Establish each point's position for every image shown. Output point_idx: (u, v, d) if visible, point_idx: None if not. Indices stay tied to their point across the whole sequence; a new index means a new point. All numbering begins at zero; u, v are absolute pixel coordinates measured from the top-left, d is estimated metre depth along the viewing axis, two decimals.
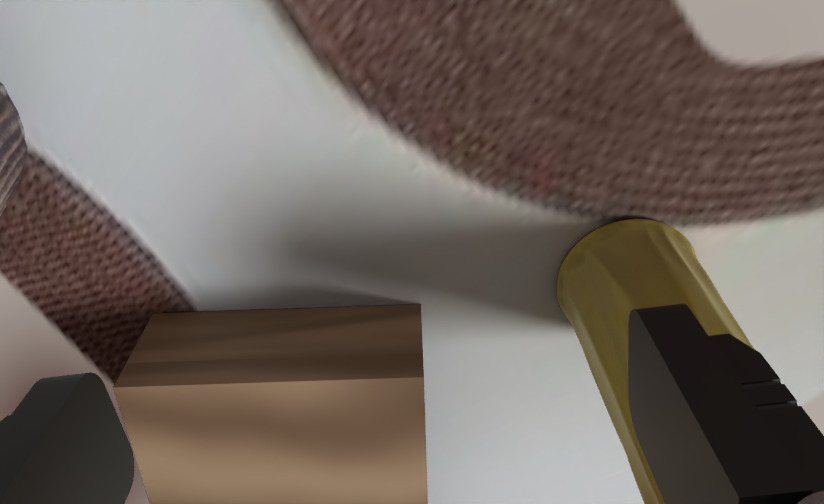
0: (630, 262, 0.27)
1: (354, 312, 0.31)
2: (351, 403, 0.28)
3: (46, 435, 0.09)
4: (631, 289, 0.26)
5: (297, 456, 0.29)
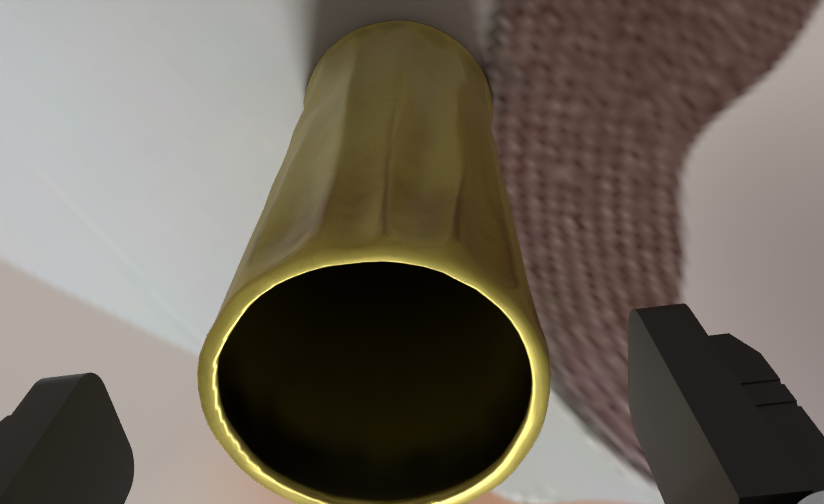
0: (484, 102, 0.20)
1: None
2: None
3: (46, 435, 0.09)
4: (480, 105, 0.18)
5: None
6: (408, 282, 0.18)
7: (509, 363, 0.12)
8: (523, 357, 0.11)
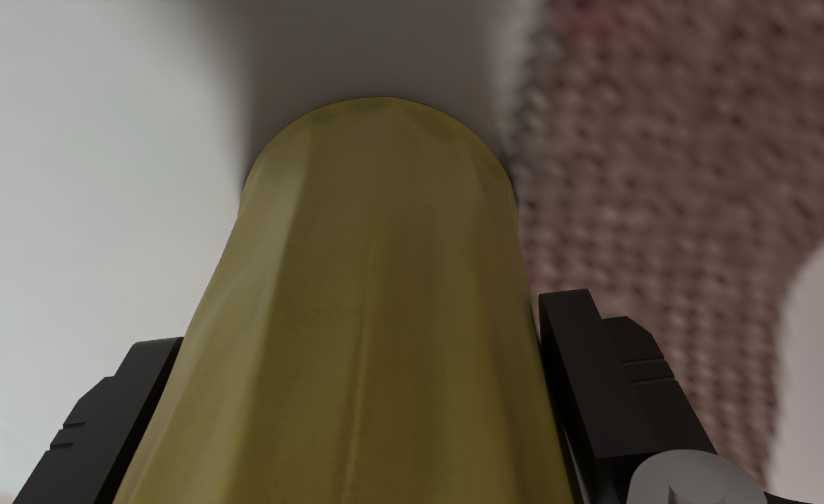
0: (513, 235, 0.12)
1: None
2: None
3: (152, 391, 0.10)
4: (513, 260, 0.11)
5: None
6: None
7: None
8: None
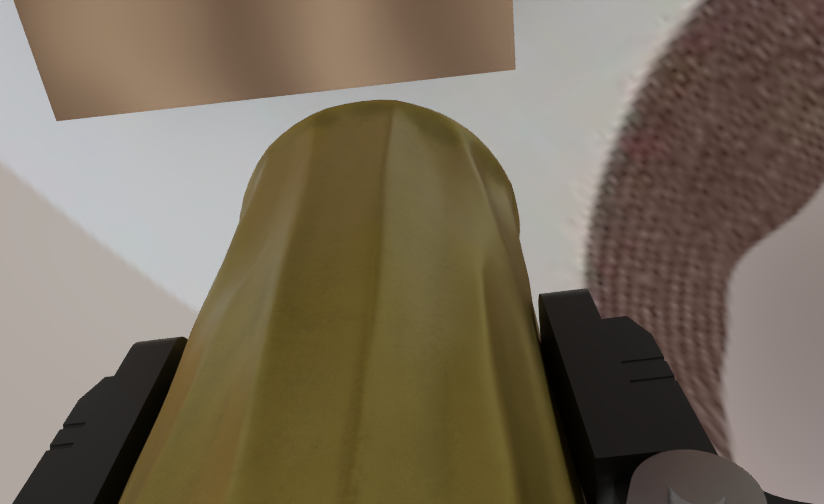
0: (514, 238, 0.12)
1: None
2: None
3: (152, 391, 0.10)
4: (514, 263, 0.11)
5: None
6: None
7: None
8: None
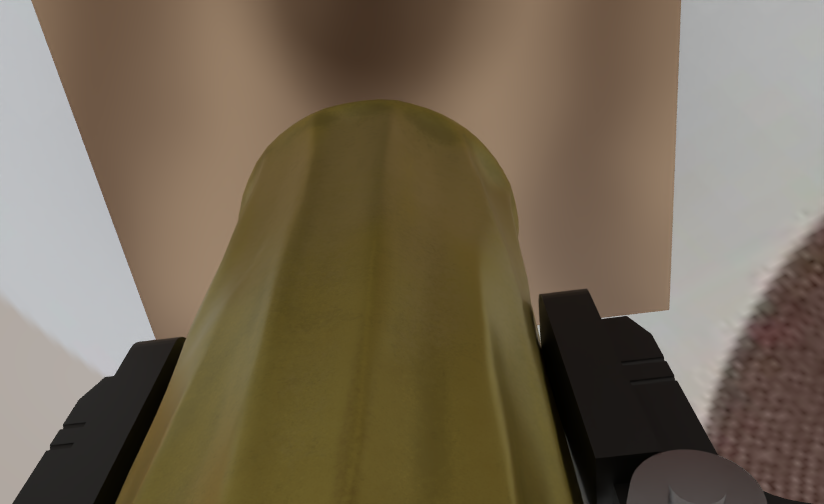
0: (513, 237, 0.12)
1: None
2: (630, 231, 0.20)
3: (152, 391, 0.10)
4: (513, 263, 0.11)
5: (529, 165, 0.19)
6: None
7: None
8: None
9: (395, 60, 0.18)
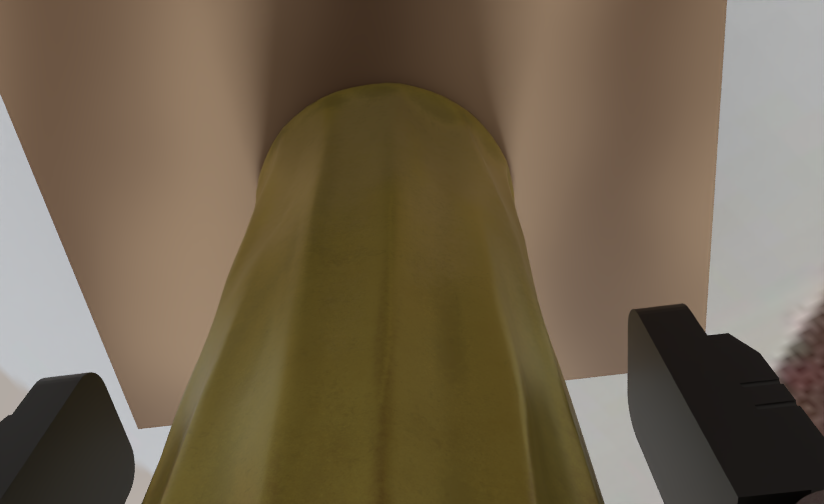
0: (510, 204, 0.14)
1: None
2: (661, 279, 0.18)
3: (47, 435, 0.09)
4: (511, 221, 0.12)
5: (548, 207, 0.17)
6: None
7: None
8: None
9: None
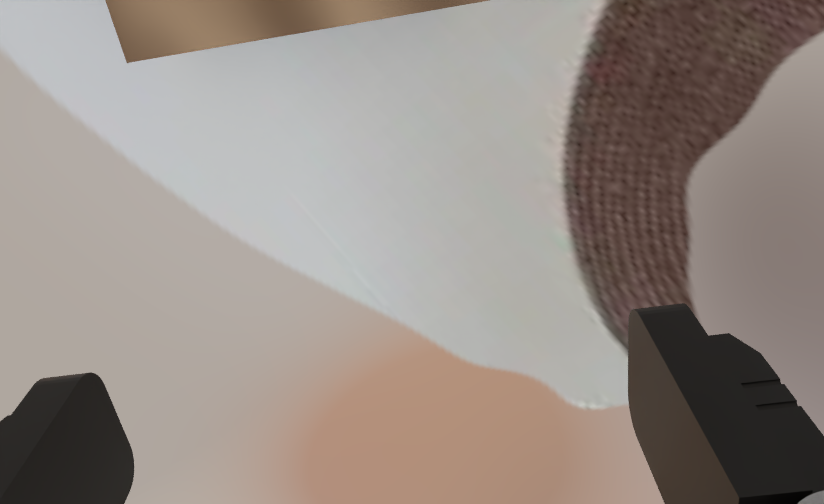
0: None
1: None
2: None
3: (46, 435, 0.09)
4: None
5: None
6: None
7: None
8: None
9: None
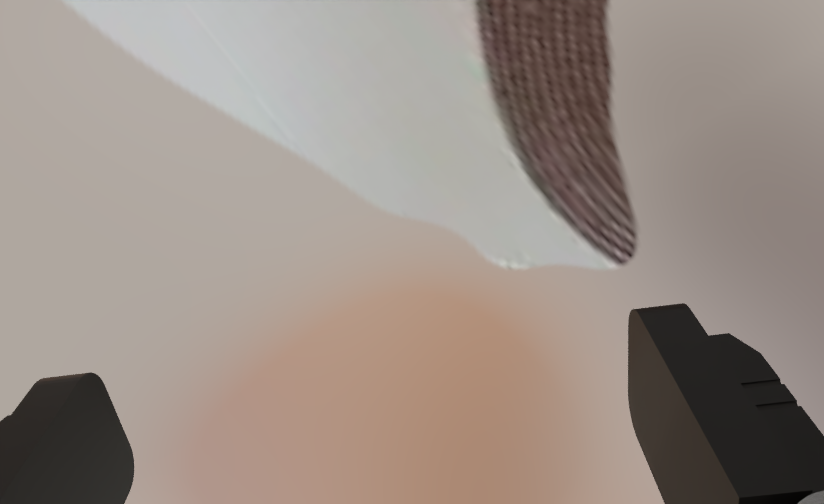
0: None
1: None
2: None
3: (46, 435, 0.09)
4: None
5: None
6: None
7: None
8: None
9: None
